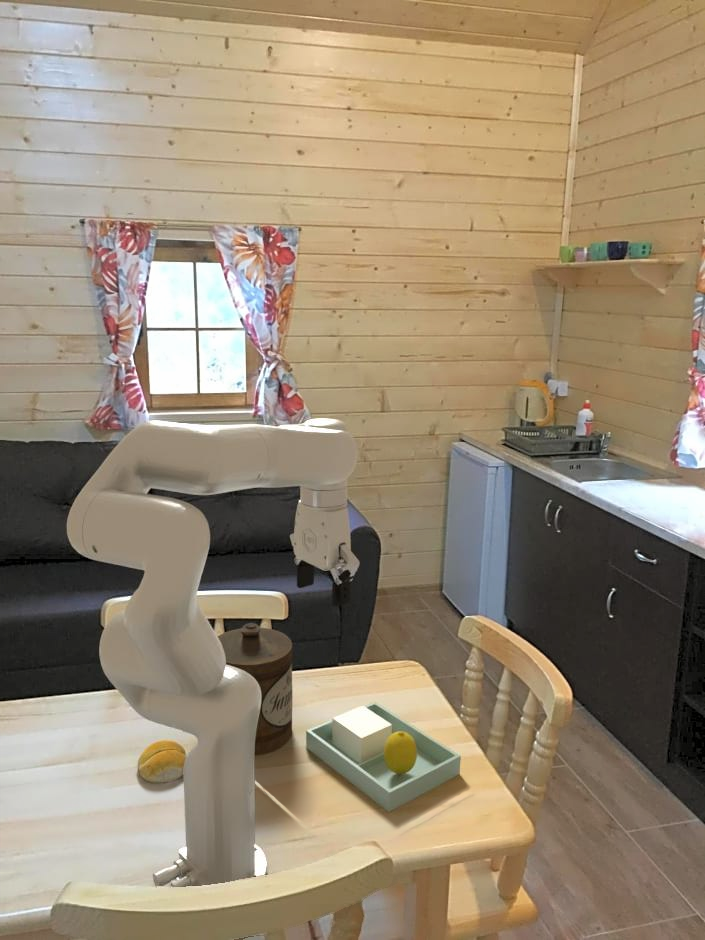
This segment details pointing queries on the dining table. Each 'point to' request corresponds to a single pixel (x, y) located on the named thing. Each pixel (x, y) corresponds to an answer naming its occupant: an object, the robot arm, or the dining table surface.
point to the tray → (375, 775)
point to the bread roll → (162, 762)
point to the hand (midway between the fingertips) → (322, 594)
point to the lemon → (400, 752)
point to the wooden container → (265, 679)
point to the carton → (360, 733)
